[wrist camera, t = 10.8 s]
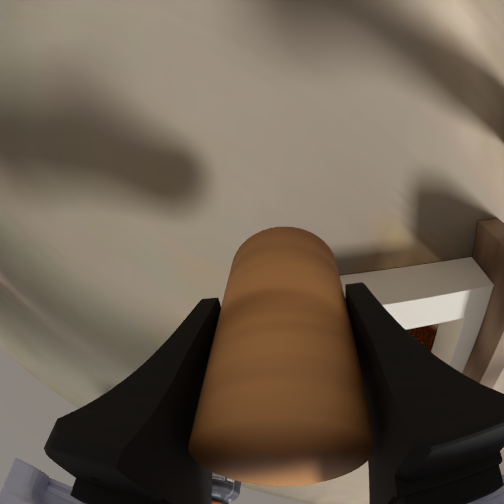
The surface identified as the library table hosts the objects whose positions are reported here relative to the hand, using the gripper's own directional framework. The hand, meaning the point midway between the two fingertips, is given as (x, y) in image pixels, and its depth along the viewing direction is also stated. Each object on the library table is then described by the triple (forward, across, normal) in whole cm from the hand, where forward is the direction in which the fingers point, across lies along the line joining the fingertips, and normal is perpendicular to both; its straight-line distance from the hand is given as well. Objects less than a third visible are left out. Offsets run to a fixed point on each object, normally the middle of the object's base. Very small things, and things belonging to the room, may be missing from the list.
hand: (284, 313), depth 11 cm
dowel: (+2, 0, 0) cm, 2 cm away
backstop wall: (+9, -14, +12) cm, 20 cm away
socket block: (+9, -8, +11) cm, 16 cm away
